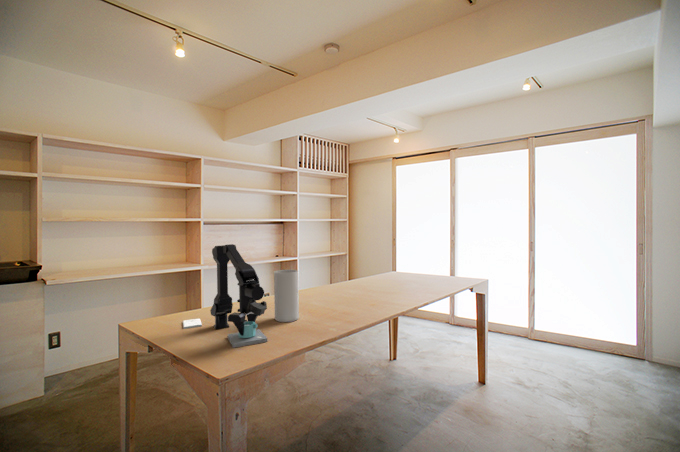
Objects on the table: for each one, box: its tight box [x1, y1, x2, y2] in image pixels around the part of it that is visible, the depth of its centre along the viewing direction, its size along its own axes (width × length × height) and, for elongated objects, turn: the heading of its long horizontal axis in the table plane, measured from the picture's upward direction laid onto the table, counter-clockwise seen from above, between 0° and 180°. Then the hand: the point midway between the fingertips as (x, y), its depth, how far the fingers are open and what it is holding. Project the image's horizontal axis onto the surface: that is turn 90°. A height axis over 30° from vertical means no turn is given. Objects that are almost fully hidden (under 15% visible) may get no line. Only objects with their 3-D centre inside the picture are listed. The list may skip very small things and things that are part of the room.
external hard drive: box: [182, 318, 203, 330], centre depth 168 cm, size 2×8×12 cm
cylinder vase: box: [273, 269, 300, 323], centre depth 174 cm, size 12×12×25 cm
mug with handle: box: [237, 320, 258, 338], centre depth 144 cm, size 8×7×5 cm
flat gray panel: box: [227, 328, 268, 349], centre depth 144 cm, size 14×14×6 cm
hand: (246, 332), depth 144 cm, fingers closed on mug with handle, 7 cm apart
